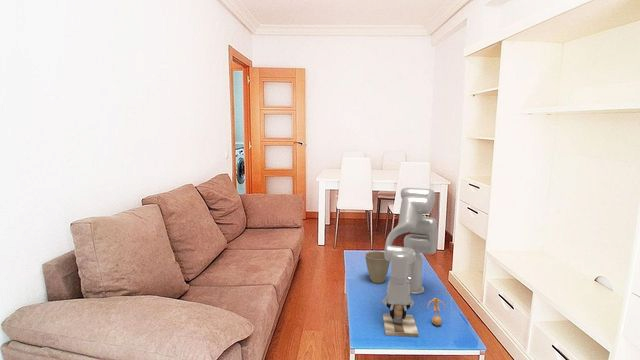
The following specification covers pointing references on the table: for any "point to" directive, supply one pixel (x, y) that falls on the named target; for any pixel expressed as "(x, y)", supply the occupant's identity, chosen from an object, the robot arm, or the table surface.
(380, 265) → the plant pot
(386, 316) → the floor board
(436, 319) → the figurine
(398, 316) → the brown cylinder
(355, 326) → the table surface
